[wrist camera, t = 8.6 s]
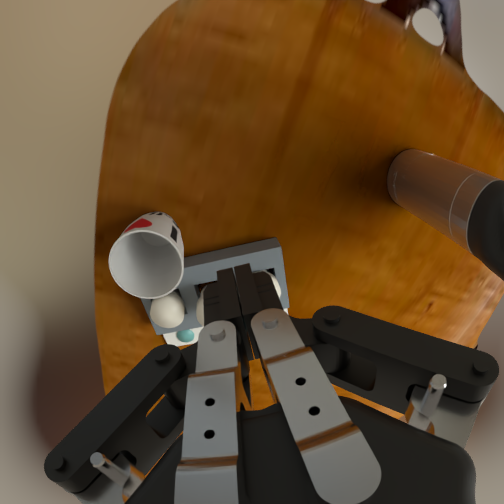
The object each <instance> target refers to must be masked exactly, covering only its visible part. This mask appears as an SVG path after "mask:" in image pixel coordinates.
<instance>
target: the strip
mask: <svg viewBox="0 0 504 504" xmlns="http://www.w3.org/2000/svg"><path fill="white" fill-rule="evenodd" d="M284 311H285V312H286V313H287V314H288V312H287V308H286V309H284ZM202 329H203V327H199V328H193V329H188V330H183V331H178V332H172V333H167V334H163V336H164V338H165V340H166V342H167V344H172V345H175V346H181V345H187V344H193V343H196V342H197V341H198V337H199V333H200V331H201V330H202Z"/></svg>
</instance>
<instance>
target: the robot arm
mask: <svg viewBox="0 0 504 504" xmlns="http://www.w3.org/2000/svg"><path fill="white" fill-rule="evenodd" d="M387 186H388V191H389V194H390V196H391V198H392V199H393V201H394V202H395V203H397V204H398V205H400V206H401V207H403V208H404V209H406V210H408V211H409V212H411V213H412V214H414V215H415V216H417V217H419V218H420V219H422V220H423V221H425V222H426V223H428V224H429V225H431V226H432V227H434V228H435V229H437V230H438V231H440V232H441V233H443V234H444V235H446V236H447V237H449V238H450V239H452V240H453V241H454V242H456V243H457V244H459V245H460V246H462V247H463V248H465V249H466V250H467V251H469V252H470V253H471V254H473V255H474V256H476V257H477V258H478V259H480V260H481V261H482V262H483V263H484V264H485V265H486V266H487V267H488V268H489V269H490V270H491V271H493V272H494V273H495V274H496V275H497V276H499V277H500V278H501V279H502V280H503V281H504V181H502V180H500V179H498V178H495V177H493V176H490V175H488V174H485V173H483V172H480V171H477V170H475V169H472V168H470V167H467V166H464V165H462V164H459V163H456V162H453V161H450V160H448V159H445V158H442V157H439V156H436V155H433V154H430V153H427V152H424V151H420V150H416V149H408V150H405V151H403V152H401V153H400V154H399V155H398V156H397V157H396V158H395V159H394V160H393V162H392V163H391V166H390V168H389V171H388V176H387ZM234 271H235V275H234ZM234 271H233V268H232V267H231V268H227V269H222V270H218V271H217V282H215V283H211V284H207V286H206V288H205V290H204V291H203V300H204V301H203V306H204V327H203V329H202V330H201V331H200V333H199V337H198V341H197V342H196V343H194V344H193V345H191V346H189V347H187V348H184V349H182V350H180V349H179V348H178V347H177V346H175V345H172V344H164V345H160V346H158V347H156V348H154V349H153V350H151V351H150V352H149V353H148V354H147V355H146V356H145V357H144V358H143V359H142V360H141V361H140V362H139V363H138V364H137V365H136V366H135V367H134V368H133V369H132V370H131V371H130V372H129V373H128V374H127V375H126V376H125V377H124V378H123V379H122V380H121V381H120V382H119V383H118V384H117V385H116V386H115V387H114V388H113V389H112V390H111V391H110V392H109V393H108V394H107V395H106V396H105V397H104V398H103V400H102V401H101V402H100V403H99V404H97V406H96V407H94V409H93V410H92V411H91V412H90V413H89V414H88V415H87V416H86V417H85V418H84V419H83V420H82V421H81V422H80V423H79V424H78V425H77V426H76V427H75V428H74V429H73V430H72V431H71V432H70V433H69V434H68V435H67V436H66V437H65V438H64V439H63V440H62V441H61V442H60V443H59V444H58V445H57V446H56V447H55V448H54V449H53V450H52V451H51V452H50V453H49V454H48V456H47V457H46V460H45V463H44V469H45V473H46V475H47V477H48V478H49V479H50V480H52V481H53V482H55V483H56V484H58V485H59V486H61V487H63V488H64V490H66V491H67V492H68V493H70V494H72V495H73V496H75V497H77V498H78V499H79V500H80V501H81V503H82V504H476V503H475V483H476V472H475V467H474V464H473V461H472V459H471V457H470V456H469V454H468V453H467V452H466V451H465V450H464V448H465V445H466V443H467V440H468V438H469V435H470V433H471V430H472V427H473V424H474V422H475V419H476V416H477V413H478V410H479V408H480V406H481V405H482V403H483V401H484V400H485V398H486V396H487V395H488V393H489V391H490V389H491V388H492V386H493V384H494V382H495V380H496V378H497V377H498V374H499V366H498V363H497V361H496V360H495V359H494V358H493V357H492V356H491V355H489V354H488V353H485V352H482V351H478V350H476V349H472V348H469V347H466V346H462V345H459V344H456V343H453V342H449V341H446V340H443V339H440V338H436V337H433V336H430V335H427V334H424V333H420V332H417V331H414V330H411V329H408V328H405V327H402V326H398V325H395V324H392V323H389V322H386V321H383V320H380V319H377V318H374V317H371V316H368V315H365V314H362V313H359V312H356V311H352V310H349V309H346V308H343V307H340V306H326V307H323V308H321V309H319V310H317V311H316V312H315V313H314V315H313V317H312V318H311V319H299V318H294V317H291V316H289V315H288V314H287V313H286V312H285V311H284V309H283V307H282V304H281V301H280V299H279V296H278V294H277V291H276V289H275V286H274V284H273V281H272V278H271V276H270V275H269V274H267V273H266V272H265V271H261V272H257V273H252V270H251V267H250V263H247V264H243V265H239V266H235V267H234ZM235 277H236V279H235ZM249 338H250V339H249ZM250 342H251V344H250ZM251 345H252V349H253V352H254V356H255V359H258V358H260V361H261V364H262V368H263V372H264V375H265V378H266V381H267V384H268V386H269V389H270V392H271V395H272V398H273V400H274V403H275V404H273V405H271V406H269V407H267V408H265V409H263V410H255V411H254V405H253V394H252V384H251V375H250V367H249V361H250V360H254V358H253V353H252V349H251ZM331 383H332V384H334V385H336V386H338V387H341V388H343V389H345V390H347V391H350V392H352V393H354V394H356V395H359V396H361V397H363V398H366V399H368V400H370V401H373V402H375V403H377V404H380V405H382V406H385V407H387V408H390V409H392V410H394V411H397V412H399V413H402V414H405V418H406V421H407V423H408V424H407V423H405V422H402V421H400V420H398V419H396V418H393V417H391V416H389V415H387V414H385V413H382V412H380V411H378V410H376V409H374V408H372V407H369V406H367V405H365V404H363V403H361V402H359V401H357V400H354V399H351V398H348V397H343V396H337V394H336V392H335V390H334V388H333V386H332V385H331ZM163 394H164V395H165V397H164V398H163V399H162V400H161V401H160V402H159V403H158V404H157V406H156V407H155V408H154V409H153V410H152V411H151V412H150V413H149V415H148V416H147V417H146V414H147V412H148V411H149V409H150V408H151V407H152V406H153V405H154V404H155V403H156V402H157V401H158V399H159V398H160V397H161V396H162V395H163ZM182 431H183V434H182V435H180V433H181V432H182ZM179 435H180V436H179ZM178 436H179V437H178ZM177 437H178V438H177ZM176 438H177V439H176ZM171 444H172V445H171ZM168 448H169V449H168ZM167 449H168V450H167ZM166 450H167V451H166ZM164 453H165V454H164ZM163 454H164V455H163ZM162 455H163V456H162ZM161 456H162V458H161ZM160 458H161V459H160ZM159 459H160V460H159ZM158 460H159V461H158ZM157 461H158V463H157V464H156V465H155V463H156V462H157ZM154 465H155V466H154ZM153 466H154V468H153V469H152V470H151V472H150V473H149V474H148V475H147V477H146V478H145V475H146V474H147V473H148V472H149V470H150V469H151V468H152V467H153Z"/></svg>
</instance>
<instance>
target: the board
mask: <svg viewBox="0 0 504 504" xmlns="http://www.w3.org/2000/svg"><path fill="white" fill-rule="evenodd" d="M247 263H250V267H251V270H252V272H256V271H261V270H265V269H270V268H272V273H273V275H274V276H275V277H276V279H277V281H278V284H279V286H280V289H281V296H280V298H279V299H280V301H281V304H282V307H283V309H286V308H289V300H288V293H287V285H286V278H285V271H284V264H283V256H282V250H281V246H280V244H279V242H278V240H277V238H276V237H275V238H271V239H266V240H262V241H257V242H253V243H248V244H243V245H239V246H234V247H230V248H225V249H221V250H216V251H212V252H207V253H203V254H198V255H194V256H189V257H185V258H184V272H183V277H182V279H181V282H180V283H179V285H178V286H177V287H176V288H175V289H178V288H179V291H180V294H181V296H182V299H183V302H184V305H185V309H184V319H183V321H182V323H181V324H180V325H178V326H176V327H173V328H164V327H160V326H158V325H157V324H155V323H154V322H153V320H152V319H151V317H150V309H151V304H152V300H153V299H145V298H141V301H142V303H143V305H144V307H145V310H146V312H147V314H148V316H149V319H150V321H151V323H152V325H153V327H154V330H155V332H156V334H157V335H161V334H167V333H172V332H178V331H183V330H188V329H193V328H199V327H204V326H202V325H201V324H200V323H199V322H198V320H197V316H196V309H197V301H198V299H199V298H200V291H199V288H198V285H197V284H202V283H206V282H211V281H216V280H217V271H218V270H222V269H227V268H231V267H232V268H233V271H234V267H235V266H239V265H243V264H247ZM234 275H235V271H234ZM235 279H236V277H235Z"/></svg>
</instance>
